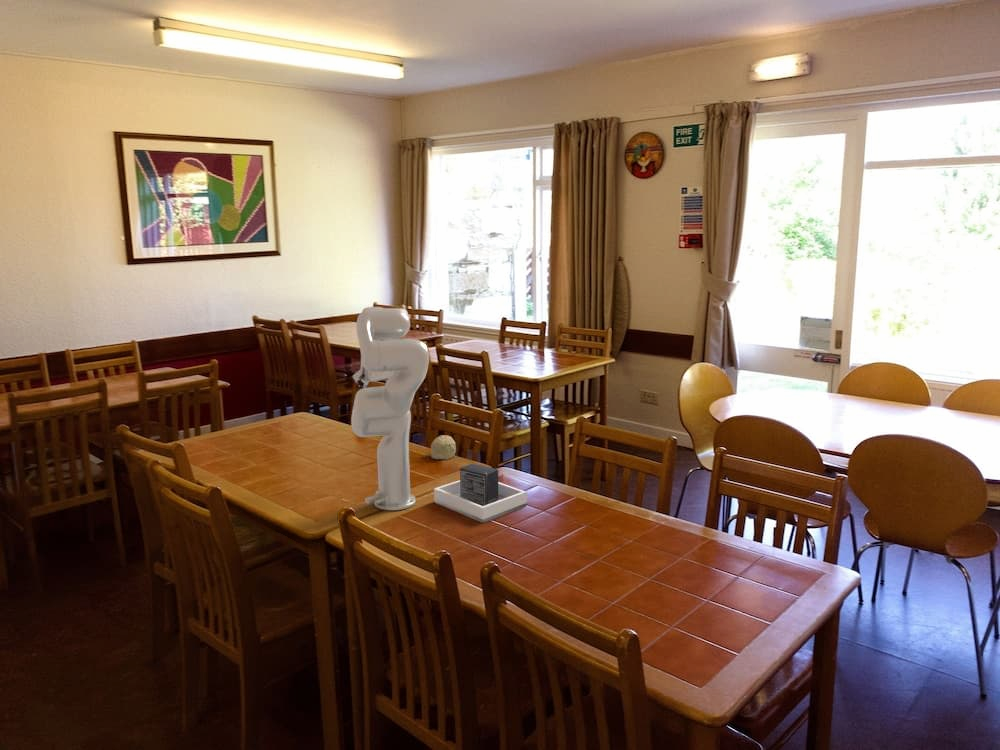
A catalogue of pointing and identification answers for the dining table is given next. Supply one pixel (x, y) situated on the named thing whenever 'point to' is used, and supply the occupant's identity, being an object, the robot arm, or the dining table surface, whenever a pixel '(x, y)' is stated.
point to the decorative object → (443, 447)
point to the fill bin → (451, 499)
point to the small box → (479, 484)
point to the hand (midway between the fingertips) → (377, 396)
